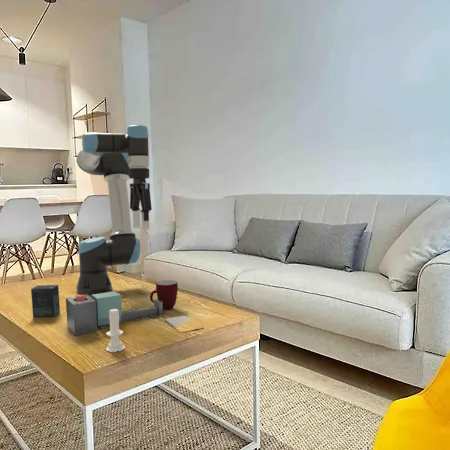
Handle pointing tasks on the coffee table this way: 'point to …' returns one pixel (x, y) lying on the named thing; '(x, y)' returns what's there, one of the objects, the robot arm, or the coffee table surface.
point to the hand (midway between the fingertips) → (141, 228)
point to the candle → (114, 332)
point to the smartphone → (177, 320)
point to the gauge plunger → (80, 298)
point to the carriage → (106, 306)
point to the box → (45, 300)
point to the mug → (166, 293)
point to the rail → (141, 313)
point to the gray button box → (81, 315)
